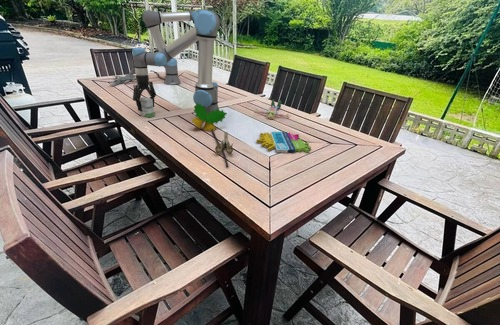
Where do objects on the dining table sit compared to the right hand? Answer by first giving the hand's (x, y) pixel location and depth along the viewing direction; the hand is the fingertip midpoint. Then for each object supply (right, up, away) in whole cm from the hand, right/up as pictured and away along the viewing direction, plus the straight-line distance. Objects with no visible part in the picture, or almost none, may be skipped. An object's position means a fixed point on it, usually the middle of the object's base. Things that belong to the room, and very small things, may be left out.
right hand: (146, 108), depth 175 cm
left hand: (+20, +81, +96) cm, 128 cm away
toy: (+87, +1, +23) cm, 90 cm away
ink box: (0, -4, +2) cm, 5 cm away
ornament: (+44, -15, -11) cm, 48 cm away
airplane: (-52, +42, +78) cm, 103 cm away
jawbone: (+56, -30, -37) cm, 74 cm away
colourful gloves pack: (+88, -25, -23) cm, 95 cm away
